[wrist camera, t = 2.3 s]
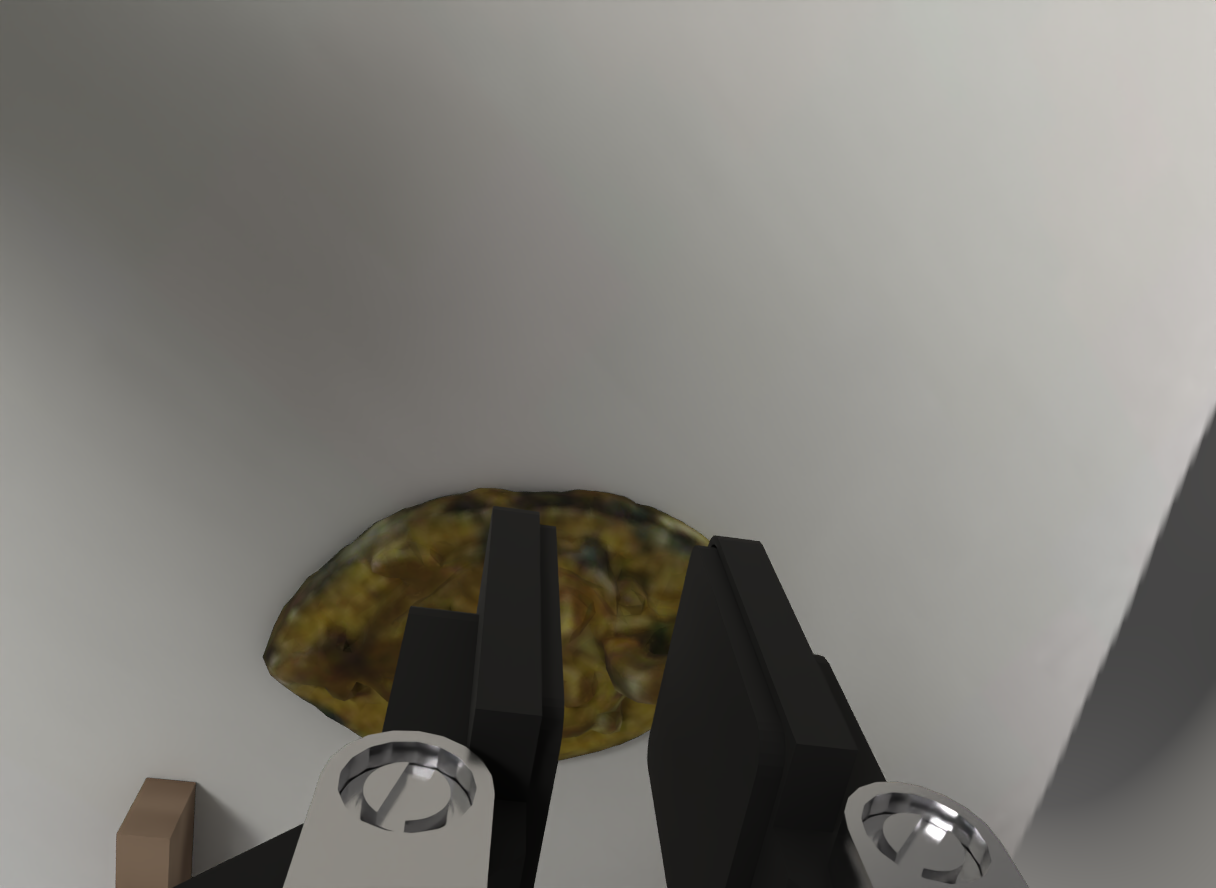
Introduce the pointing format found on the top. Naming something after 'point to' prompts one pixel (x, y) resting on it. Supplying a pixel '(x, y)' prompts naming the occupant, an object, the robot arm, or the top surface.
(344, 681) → the mottled yellow-brown oval piece
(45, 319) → the top surface
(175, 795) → the wooden step block
